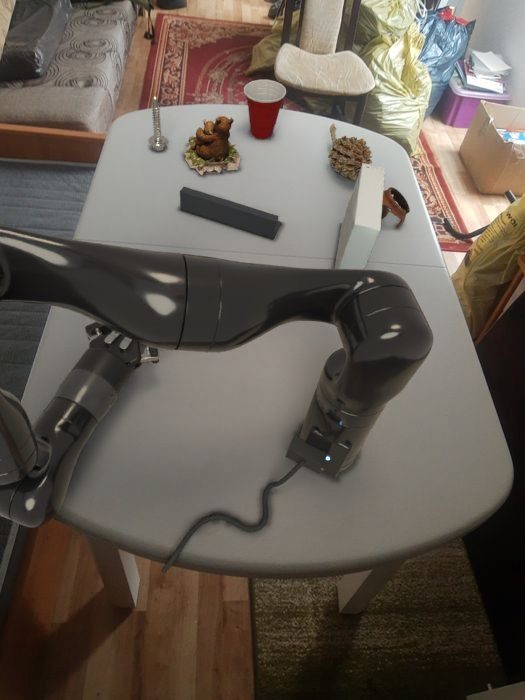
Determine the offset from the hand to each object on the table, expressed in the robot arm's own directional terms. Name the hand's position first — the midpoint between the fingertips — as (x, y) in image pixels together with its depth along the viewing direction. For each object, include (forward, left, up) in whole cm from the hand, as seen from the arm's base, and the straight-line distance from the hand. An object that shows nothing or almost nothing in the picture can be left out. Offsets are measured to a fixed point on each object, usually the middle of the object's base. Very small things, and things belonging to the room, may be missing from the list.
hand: (148, 305), depth 80 cm
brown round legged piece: (+55, -26, -7) cm, 61 cm away
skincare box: (+39, -24, -7) cm, 46 cm away
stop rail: (+37, +4, -7) cm, 38 cm away
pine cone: (+71, -10, -7) cm, 72 cm away
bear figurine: (+55, +19, -7) cm, 59 cm away
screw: (+51, +32, -7) cm, 61 cm away
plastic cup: (+73, +14, -7) cm, 75 cm away
